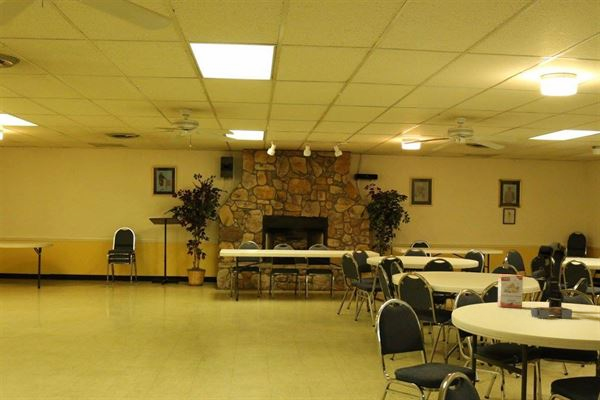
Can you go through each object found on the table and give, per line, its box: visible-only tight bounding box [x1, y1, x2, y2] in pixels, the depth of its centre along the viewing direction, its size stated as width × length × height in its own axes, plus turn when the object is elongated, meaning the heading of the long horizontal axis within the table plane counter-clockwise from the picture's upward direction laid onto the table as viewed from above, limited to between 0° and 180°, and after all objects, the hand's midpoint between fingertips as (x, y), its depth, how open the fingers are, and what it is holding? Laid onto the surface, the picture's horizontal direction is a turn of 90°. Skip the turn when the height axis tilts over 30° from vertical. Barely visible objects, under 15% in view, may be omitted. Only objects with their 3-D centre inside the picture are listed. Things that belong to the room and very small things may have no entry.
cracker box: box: [497, 273, 524, 309], centre depth 359 cm, size 14×6×21 cm, turn 88°
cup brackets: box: [530, 307, 573, 320], centre depth 324 cm, size 22×8×5 cm, turn 98°
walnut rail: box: [536, 306, 567, 316], centre depth 324 cm, size 16×4×4 cm, turn 98°
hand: (546, 292), depth 337 cm, fingers open, 9 cm apart
